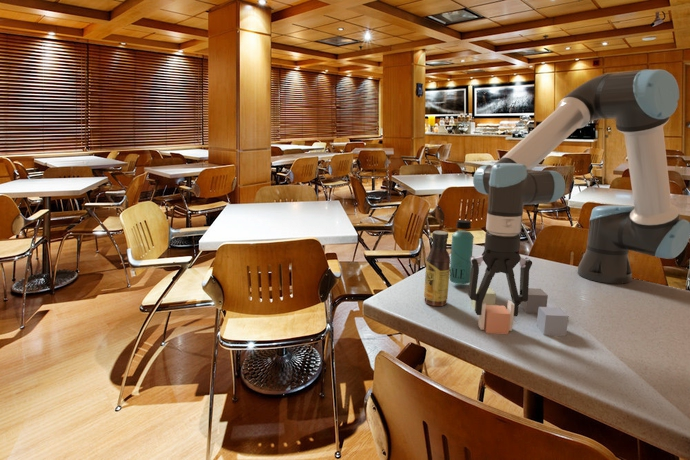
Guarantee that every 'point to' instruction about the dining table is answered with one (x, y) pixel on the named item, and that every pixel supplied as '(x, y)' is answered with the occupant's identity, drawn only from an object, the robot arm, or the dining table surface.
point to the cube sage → (486, 297)
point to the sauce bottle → (437, 271)
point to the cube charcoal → (534, 300)
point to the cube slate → (552, 321)
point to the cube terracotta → (496, 319)
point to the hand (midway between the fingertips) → (494, 327)
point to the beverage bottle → (461, 254)
